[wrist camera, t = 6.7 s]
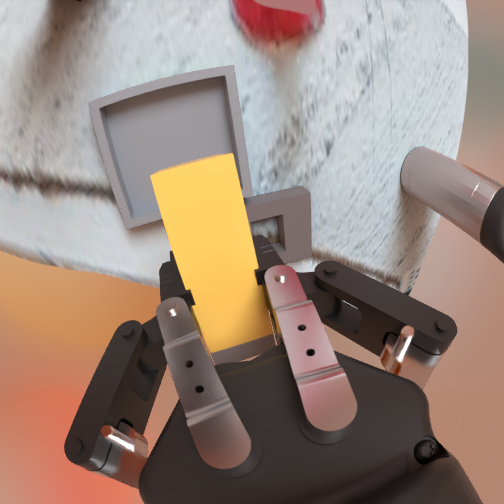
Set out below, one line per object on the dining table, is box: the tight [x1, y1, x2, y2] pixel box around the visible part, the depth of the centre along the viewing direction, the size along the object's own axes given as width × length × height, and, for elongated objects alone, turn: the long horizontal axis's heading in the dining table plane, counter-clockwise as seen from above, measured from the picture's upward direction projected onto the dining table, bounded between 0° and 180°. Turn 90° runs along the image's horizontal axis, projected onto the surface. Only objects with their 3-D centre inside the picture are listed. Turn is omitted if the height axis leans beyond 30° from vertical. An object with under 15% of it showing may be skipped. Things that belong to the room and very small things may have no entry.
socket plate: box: [243, 186, 312, 264], centre depth 37 cm, size 12×10×2 cm
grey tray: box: [88, 65, 253, 229], centre depth 27 cm, size 15×15×3 cm
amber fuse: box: [150, 153, 276, 365], centre depth 13 cm, size 3×4×9 cm
